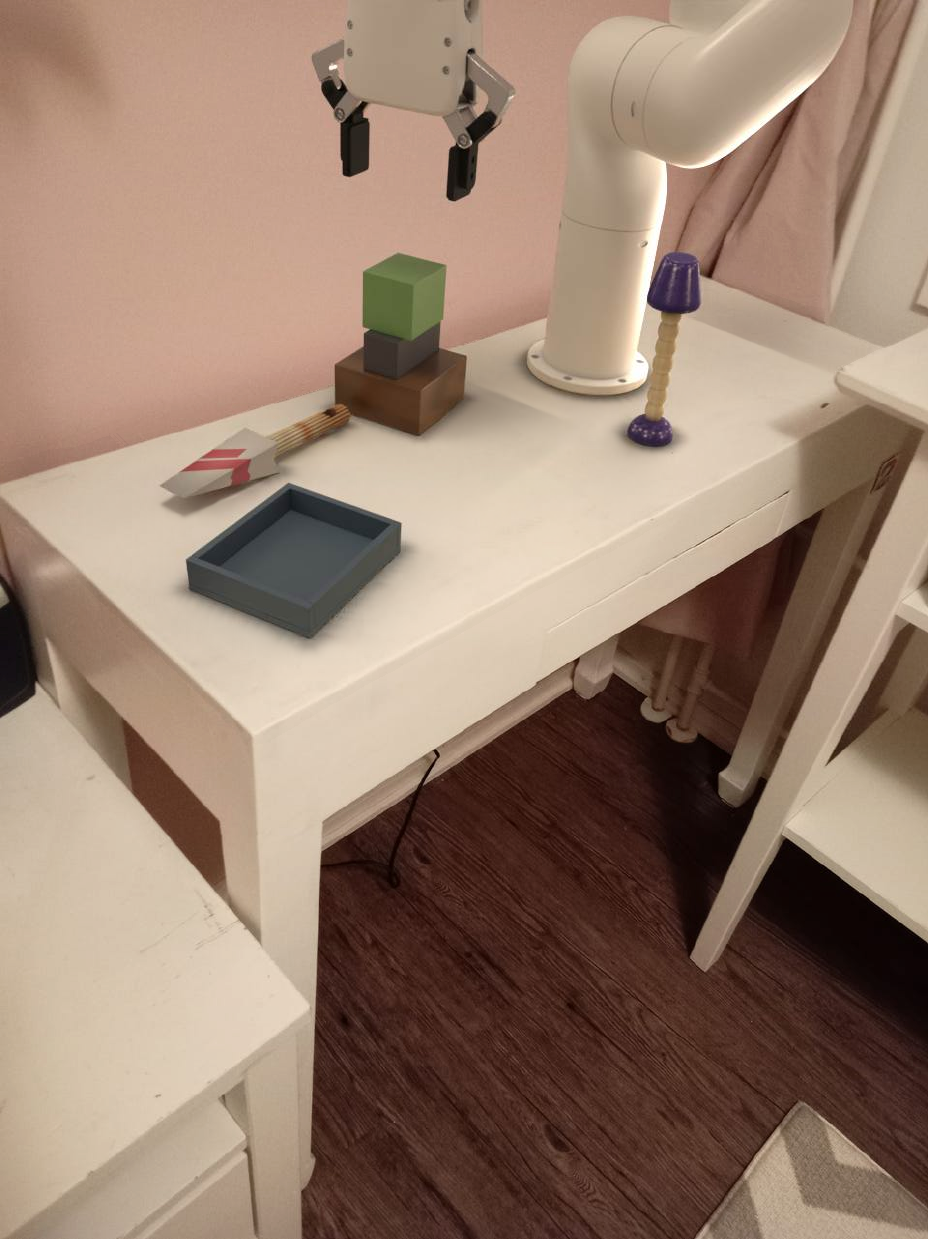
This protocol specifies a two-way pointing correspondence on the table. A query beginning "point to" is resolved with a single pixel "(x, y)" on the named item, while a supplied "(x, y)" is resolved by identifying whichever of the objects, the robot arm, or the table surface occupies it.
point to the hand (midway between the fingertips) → (406, 185)
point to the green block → (403, 296)
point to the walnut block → (402, 391)
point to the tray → (295, 558)
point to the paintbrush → (250, 455)
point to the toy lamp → (666, 340)
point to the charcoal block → (398, 352)
